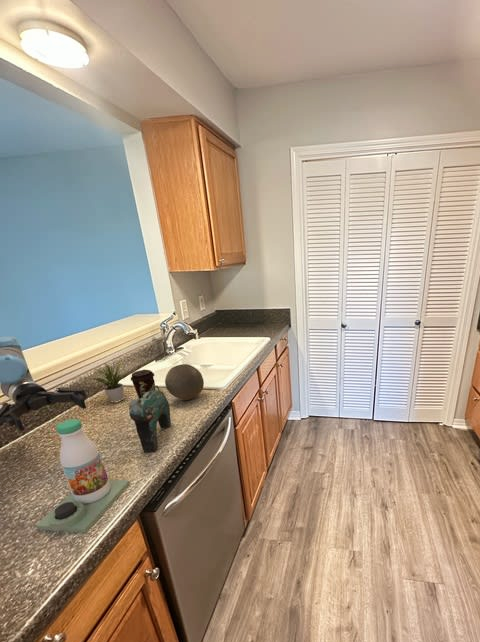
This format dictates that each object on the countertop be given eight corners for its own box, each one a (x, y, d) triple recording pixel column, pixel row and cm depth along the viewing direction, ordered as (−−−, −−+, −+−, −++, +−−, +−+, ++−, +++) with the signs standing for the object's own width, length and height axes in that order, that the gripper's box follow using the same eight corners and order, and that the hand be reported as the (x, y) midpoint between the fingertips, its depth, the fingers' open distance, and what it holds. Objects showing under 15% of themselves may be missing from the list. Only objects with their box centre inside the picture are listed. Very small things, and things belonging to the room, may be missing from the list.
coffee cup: (156, 395, 138) (149, 367, 133) (163, 401, 132) (156, 371, 127) (135, 402, 133) (127, 372, 128) (140, 408, 127) (132, 377, 122)
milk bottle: (67, 501, 78) (38, 429, 70) (95, 481, 85) (70, 413, 77) (92, 507, 76) (64, 434, 68) (118, 486, 82) (95, 416, 75)
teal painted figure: (156, 455, 97) (140, 394, 89) (134, 456, 96) (117, 395, 89) (176, 422, 115) (165, 369, 107) (158, 423, 115) (145, 371, 107)
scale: (83, 535, 70) (79, 525, 68) (34, 532, 71) (29, 522, 70) (130, 483, 85) (127, 474, 84) (88, 482, 86) (85, 472, 85)
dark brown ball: (178, 393, 140) (171, 360, 134) (210, 392, 139) (204, 359, 133) (164, 408, 127) (156, 372, 121) (199, 407, 126) (193, 371, 120)
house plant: (119, 390, 145) (109, 356, 139) (144, 393, 141) (134, 357, 135) (91, 404, 133) (79, 367, 127) (117, 407, 129) (106, 369, 122)
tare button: (67, 520, 70) (65, 514, 70) (53, 519, 71) (50, 513, 70) (80, 508, 74) (77, 502, 73) (65, 507, 74) (63, 501, 74)
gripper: (80, 392, 104) (109, 408, 92) (-23, 424, 86) (-5, 449, 74) (73, 370, 101) (102, 384, 89) (-36, 398, 83) (-18, 421, 71)
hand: (53, 414), depth 81 cm, fingers open, 13 cm apart
